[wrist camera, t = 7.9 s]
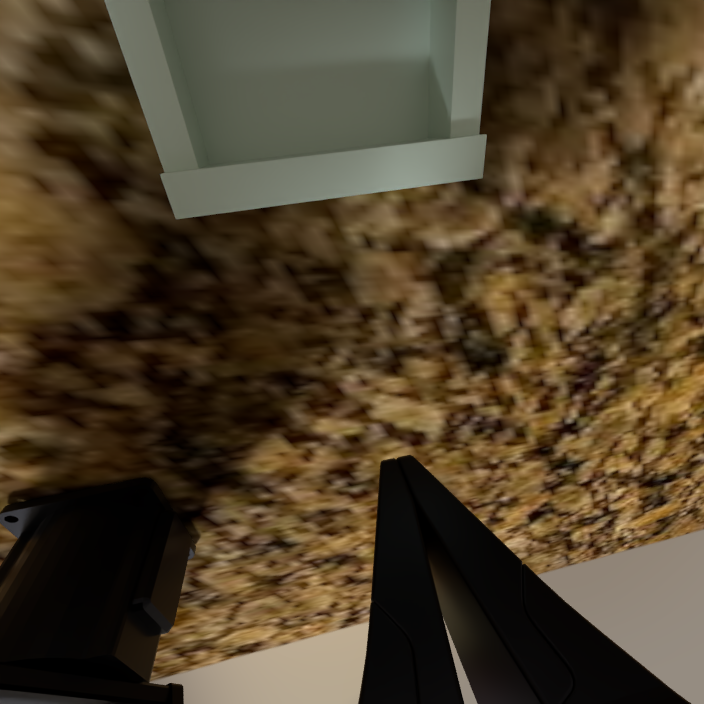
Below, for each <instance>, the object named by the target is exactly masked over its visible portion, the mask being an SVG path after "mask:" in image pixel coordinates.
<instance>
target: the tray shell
mask: <svg viewBox="0 0 704 704" xmlns="http://www.w3.org/2000/svg"><path fill="white" fill-rule="evenodd" d="M104 1H105V4H106V7H107V10H108V12H109V15H110V18H111V21H112V24H113V27H114V30H115V32H116V35H117V38H118V41H119V44H120V47H121V50H122V53H123V55H124V58H125V61H126V64H127V67H128V70H129V73H130V75H131V78H132V81H133V84H134V87H135V90H136V93H137V95H138V98H139V101H140V104H141V107H142V110H143V113H144V115H145V118H146V121H147V124H148V127H149V130H150V133H151V135H152V138H153V141H154V144H155V147H156V150H157V153H158V155H159V158H160V161H161V164H162V167H163V170H164V173H162V174H160V176H161V179H162V182H163V185H164V188H165V190H166V193H167V196H168V199H169V202H170V204H171V207H172V210H173V213H174V216H175V218H176V219H183V218H191V217H198V216H206V215H213V214H221V213H228V212H235V211H243V210H250V209H258V208H265V207H273V206H280V205H287V204H295V203H302V202H310V201H317V200H325V199H332V198H339V197H347V196H354V195H362V194H369V193H376V192H384V191H391V190H399V189H406V188H414V187H421V186H428V185H436V184H443V183H451V182H458V181H466V180H473V179H480V178H483V170H484V159H485V149H486V139H487V134H480V135H479V131H480V120H481V108H482V97H483V86H484V74H485V63H486V51H487V40H488V28H489V17H490V6H491V0H104Z"/></svg>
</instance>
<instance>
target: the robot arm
mask: <svg viewBox="0 0 704 704" xmlns="http://www.w3.org/2000/svg"><path fill="white" fill-rule="evenodd" d="M0 523H1V524H2V525H3V526H4V527H6V528H7V529H8V530H9V531H10V532H11V533H12V534H13V535H15V536H16V537H17V538H18V540H17V541H16V543H15V544H14V546H13V547H12V549H11V551H10V552H9V554H8V555H7V557H6V558H5V560H4V561H3V563H2V564H1V566H0V704H184V703H183V686H182V685H180V684H174V683H169V684H167V685H159V684H152V683H149V682H150V678H151V673H152V669H153V665H154V661H155V657H156V652H157V648H158V644H159V640H160V636H161V634H165V633H168V632H169V631H170V629H171V628H172V627H173V625H174V621H175V617H176V612H177V607H178V603H179V598H180V594H181V589H182V584H183V580H184V575H185V570H186V566H187V561H188V559H191V558H192V557H194V555H195V550H196V546H195V544H194V542H193V541H192V538H191V536H190V534H189V533H188V531H187V530H186V528H185V527H184V525H183V523H182V522H181V520H180V519H179V517H178V515H177V514H176V513H175V512H174V511H173V509H172V508H171V506H170V505H169V503H168V501H167V500H166V498H165V497H164V495H163V494H162V492H161V490H160V489H159V487H158V486H157V484H156V483H155V482H154V481H153V480H151V479H149V478H138V479H133V480H128V481H123V482H118V483H114V484H109V485H104V486H99V487H94V488H89V489H84V490H79V491H74V492H69V493H64V494H59V495H54V496H49V497H44V498H39V499H35V500H30V501H25V502H20V503H15V504H10V505H7V506H5V507H4V508H3V510H2V511H1V512H0ZM371 602H372V603H371V605H370V619H369V631H368V641H367V651H366V659H365V665H364V672H363V678H362V685H361V691H360V697H359V702H358V704H464V701H463V697H462V693H461V689H460V685H459V681H458V677H457V673H456V668H455V664H454V660H453V657H452V653H451V648H450V644H449V640H448V636H447V632H446V628H445V624H444V620H445V623H446V625H447V628H448V630H449V633H450V635H451V638H452V640H453V643H454V645H455V648H456V650H457V653H458V656H459V658H460V661H461V663H462V666H463V668H464V671H465V673H466V676H467V678H468V680H469V683H470V685H471V688H472V691H473V693H474V695H475V698H476V701H477V703H478V704H691V703H690V702H688V701H687V700H685V699H684V698H683V697H681V696H680V695H678V694H677V693H676V692H675V691H673V690H672V689H671V688H669V687H668V686H667V685H666V684H664V683H663V682H662V681H661V680H660V679H658V678H657V677H656V676H655V675H654V674H652V673H651V672H650V671H649V670H647V669H646V668H645V667H644V666H642V665H641V664H640V663H639V662H638V661H636V660H635V659H634V658H633V657H632V656H630V655H629V654H628V653H627V652H625V651H624V650H623V649H622V648H621V647H619V646H618V645H617V644H615V643H614V642H613V641H612V640H611V639H609V638H608V637H607V636H606V635H604V634H603V633H602V632H601V631H600V630H598V629H597V628H596V627H595V626H594V625H592V624H591V623H590V622H589V621H588V620H586V619H585V618H584V617H583V616H582V615H581V614H579V613H578V612H577V611H576V610H575V609H573V608H572V607H571V606H570V605H569V604H567V603H566V602H565V601H564V600H563V599H562V598H561V597H559V596H558V595H557V594H556V593H555V592H554V591H553V590H552V589H551V588H550V587H549V586H548V585H546V583H544V582H543V581H542V580H541V579H540V578H539V577H538V576H537V575H536V574H535V573H534V572H533V571H532V570H531V569H530V568H529V567H528V566H527V565H526V564H523V565H522V561H521V560H520V559H519V558H518V557H517V556H516V555H515V554H514V553H513V552H512V551H511V550H510V549H509V548H508V547H507V546H506V545H505V544H504V543H503V542H502V541H501V540H500V539H498V538H497V537H496V536H495V535H494V534H493V533H492V532H491V531H490V530H489V529H488V528H487V527H486V526H485V525H484V524H483V523H482V522H481V521H480V520H479V519H478V518H477V517H476V516H475V515H474V514H473V513H472V512H470V511H469V510H468V509H467V508H466V507H465V506H464V505H463V504H462V503H461V502H460V501H459V500H458V499H457V498H456V497H455V496H454V495H453V494H452V493H451V492H450V491H449V490H448V489H447V488H446V487H445V486H443V485H442V484H441V483H440V482H439V481H438V480H437V479H436V478H435V477H434V476H433V475H432V474H431V473H430V472H429V471H428V470H427V469H426V468H425V467H424V466H423V465H422V464H421V463H420V462H419V461H418V460H416V459H415V458H414V457H413V456H411V455H407V456H402V457H398V458H397V460H396V459H394V458H393V459H388V460H383V461H381V465H380V478H379V493H378V507H377V521H376V536H375V550H374V564H373V579H372V593H371ZM442 615H443V616H442ZM443 618H444V620H443Z"/></svg>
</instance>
